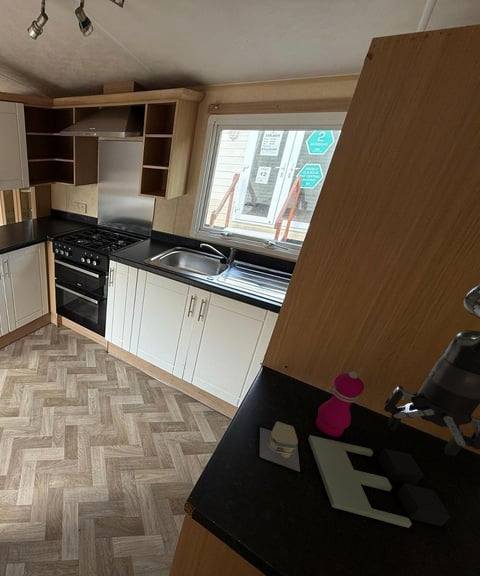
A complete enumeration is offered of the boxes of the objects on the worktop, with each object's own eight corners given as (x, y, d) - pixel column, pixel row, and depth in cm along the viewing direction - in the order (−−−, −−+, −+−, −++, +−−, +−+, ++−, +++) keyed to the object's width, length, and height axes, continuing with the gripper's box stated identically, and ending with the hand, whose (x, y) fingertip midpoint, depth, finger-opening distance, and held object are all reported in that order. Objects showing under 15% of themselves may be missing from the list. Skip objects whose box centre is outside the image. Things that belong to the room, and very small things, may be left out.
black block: (425, 500, 70) (434, 490, 68) (441, 526, 65) (451, 516, 64) (396, 493, 71) (404, 482, 70) (410, 518, 67) (418, 507, 65)
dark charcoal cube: (403, 464, 78) (410, 453, 76) (416, 485, 73) (424, 474, 71) (377, 458, 79) (384, 448, 77) (388, 478, 74) (395, 468, 73)
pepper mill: (309, 426, 88) (334, 371, 79) (317, 412, 92) (341, 359, 83) (340, 443, 83) (370, 386, 74) (347, 428, 87) (375, 372, 78)
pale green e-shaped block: (369, 452, 80) (371, 448, 80) (408, 528, 65) (412, 524, 64) (307, 438, 84) (309, 435, 83) (331, 507, 69) (334, 503, 68)
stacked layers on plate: (260, 427, 87) (264, 413, 85) (296, 439, 84) (302, 425, 81) (259, 457, 79) (264, 442, 77) (300, 472, 76) (306, 457, 73)
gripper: (511, 391, 58) (464, 449, 65) (407, 357, 66) (377, 411, 74) (519, 414, 53) (468, 475, 60) (406, 374, 62) (373, 431, 69)
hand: (418, 440), depth 67 cm, fingers open, 8 cm apart
